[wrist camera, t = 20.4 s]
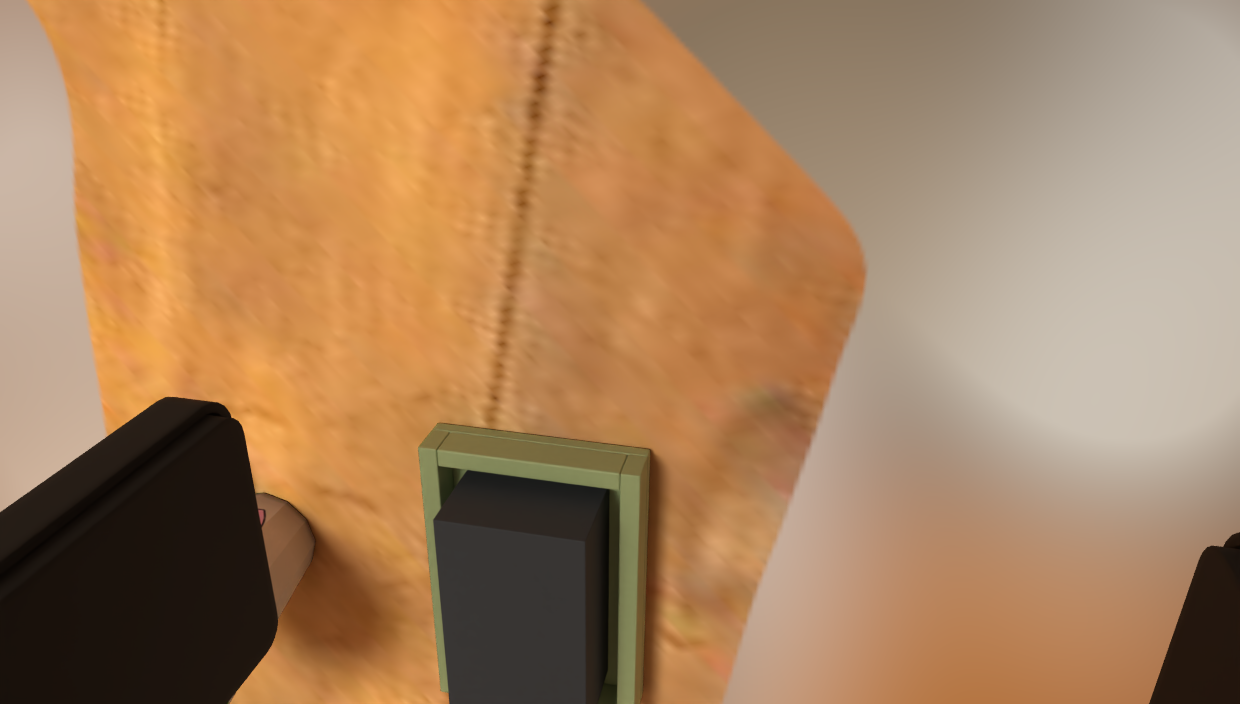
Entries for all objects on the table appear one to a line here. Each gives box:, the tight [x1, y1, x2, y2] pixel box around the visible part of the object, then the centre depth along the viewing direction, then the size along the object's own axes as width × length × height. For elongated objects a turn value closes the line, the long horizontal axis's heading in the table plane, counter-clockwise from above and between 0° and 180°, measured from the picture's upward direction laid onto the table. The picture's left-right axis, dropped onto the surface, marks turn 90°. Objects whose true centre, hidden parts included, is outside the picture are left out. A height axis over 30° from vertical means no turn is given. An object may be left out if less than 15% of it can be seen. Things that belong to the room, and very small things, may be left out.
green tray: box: [418, 423, 650, 704], centre depth 40 cm, size 9×13×2 cm
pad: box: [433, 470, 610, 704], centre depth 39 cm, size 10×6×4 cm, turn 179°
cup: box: [227, 493, 315, 704], centre depth 37 cm, size 8×8×15 cm
